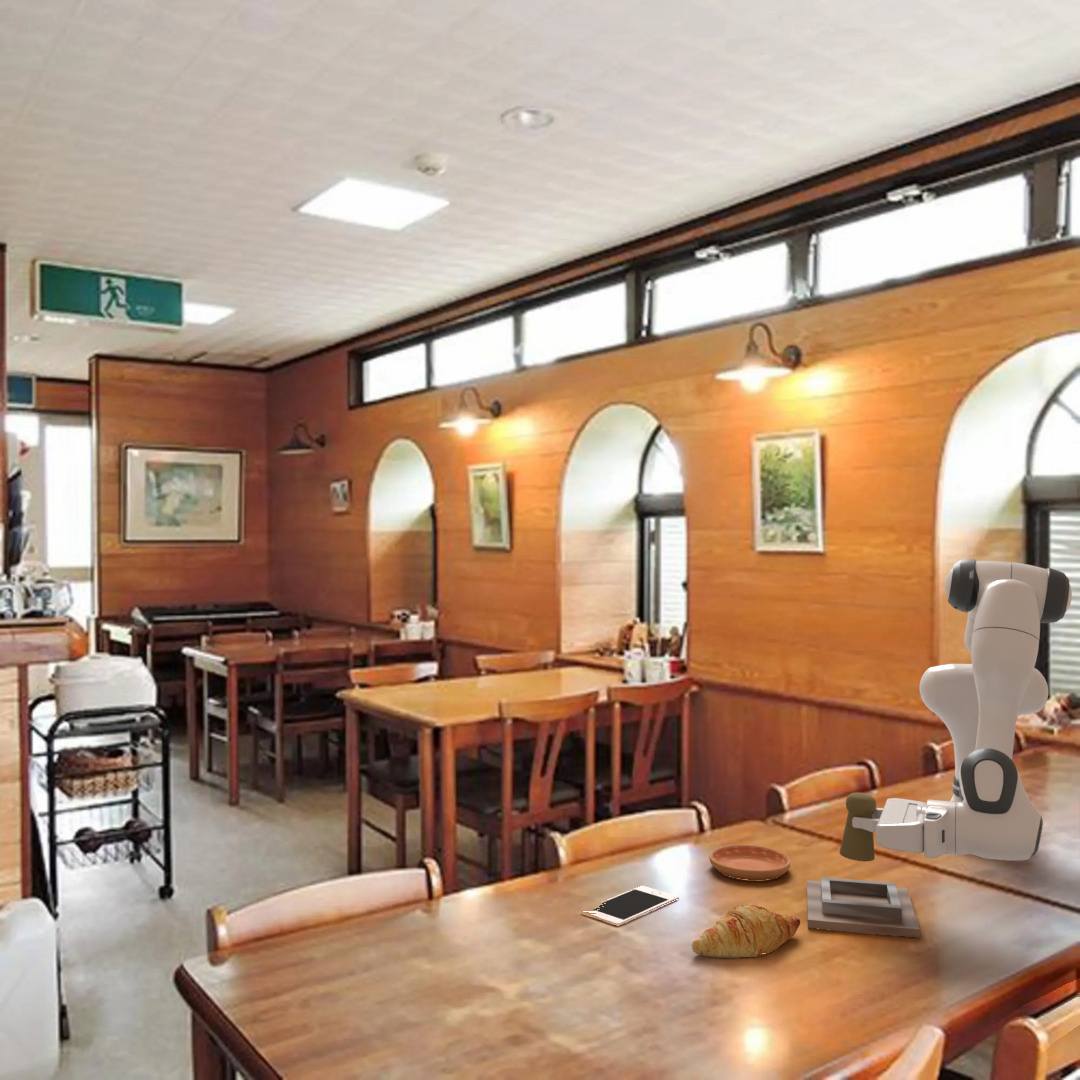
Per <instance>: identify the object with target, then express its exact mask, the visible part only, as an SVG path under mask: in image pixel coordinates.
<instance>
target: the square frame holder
mask: <svg viewBox="0 0 1080 1080" xmlns="http://www.w3.org/2000/svg"><path fill="white" fill-rule="evenodd" d="M806 905H807V910H806V911H807V929H809V928H819V929H818V930H820V929H830V930H829V931H831V930H836V931H835V932H843V931H846V932H845V933H854V932H855V934H868V935H876V934H879V936H887V935H891V936H890V937H898V936H906V937H905V938H909V937H915V938H914V939H920V937H921V936H920V934H921V932H920V931H921V929H920V926H919V923H918V919H917V916H916V912H915V910H914V906H913V903H912V899H911V896H910V893H909V889H908V888H907V887H897V886H896V883H895V882H891V881H890V882H889V881H877V880H866V879H865V880H863V879H853V878H852V879H850V878H839V877H824V876H820V881H818V880H806Z"/></svg>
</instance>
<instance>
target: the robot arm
mask: <svg viewBox="0 0 1080 1080" xmlns="http://www.w3.org/2000/svg"><path fill="white" fill-rule="evenodd" d="M1071 587H1072V586H1071V584H1070V579H1069V578H1068V576H1067V574H1065V572H1062V571H1060V570H1057V569H1054V568H1050V567H1047V568H1044V567H1041V566H1040V567H1039V566H1036V565H1032V564H1026V563H1022V562H1015V561H1010V562H1009V561H1000V560H976V559H975V558H963V559H958V560H957V561H956V562H955V563H953V564H952V567H951V568H950V570H949V571H948V573H947V575H946V578H945V581H944V589H945V590H944V591H945V595H946V599H947V602H948V604H949V605H950V606H951V607H952V608H953V609H956V610H957V611H960V612H962V613H965V614H967V621H966V626H965V630H964V636H963V643H964V647H965V648H966V650H967V652H968V653H969V654H970V655H971V663H947V664H940V665H934V666H930V667H929V668H927V669H926V670H925V672H924V673H923V674H922V676H921V679H920V682H919V695H920V698H921V700H922V702H923V704H924V706H926V707H927V709H928V710H930V711H931V712H932V713H934V715H936V716H938V718H940V720H941V721H942V722H943V724H945V726H946V728H947V730H948V732H949V734H950V736H951V739H952V743H953V752H954V765H955V766H954V769H955V772H954V773H955V775H954V776H953V778H952V785H951V786H952V793H953V795H952V796H951V799H950V800H941V799H940V800H937V799H929V798H928V799H927V800H926V802H924V801H919V800H912V799H906V798H899V797H898V798H897V797H892V798H891V797H890V798H887V799H886V802H885V804H884V805H883V808H882V807H876V810H875V812H874V813H873V815H872V819H869V818H864V816H854V817H853V819H852V826H853V827H854V828H861V829H865V830H867V831H870V832H873V834H874V833H875V835H876V836H875V839H876V842H875V843H876V845H877V846H879V847H882V848H884V849H887V850H892V851H899V852H902V853H903V852H905V853H910V854H922V853H923V857H925V858H926V859H938V858H940V857H941V856H944V855H954V856H963V855H973V856H977V857H978V858H982V859H987V860H999V861H1026V860H1027V861H1028V860H1030V859H1031V858H1033V857H1035V855H1036V854H1037V852H1038V851H1039V848H1040V842H1041V839H1042V838H1041V837H1042V831H1043V827H1044V822H1043V817H1042V815H1041V814H1040V812H1039V811H1038V810H1037V809H1036V808H1035V806H1034V805H1033V803H1032V802H1031V800H1030V798H1029V796H1028V794H1027V792H1026V789H1025V787H1024V784H1023V782H1022V779H1021V776H1020V774H1019V770H1018V768H1017V766H1016V764H1015V763H1014V761H1013V755H1014V754H1013V753H1014V746H1015V736H1016V727H1017V726H1016V725H1017V720H1018V717H1019V716H1025V715H1031V714H1036V713H1040V712H1041V710H1043V708H1044V707H1045V705H1046V704H1047V701H1048V697H1049V685H1048V683H1047V682H1048V681H1046V678H1045V676H1043V674H1042V673H1041V671H1040V670H1038V669H1037V668H1035V667H1036V664H1037V663H1036V662H1037V657H1038V653H1039V645H1040V635H1041V634H1040V633H1041V624H1050V623H1051V624H1052V623H1053V624H1054V623H1057V622H1059V621H1060V620H1062V619H1063V618H1064V617H1065V614H1066V613H1067V611H1068V610H1069V609H1070V606H1071V604H1072V598H1073V593H1072V588H1071Z"/></svg>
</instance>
